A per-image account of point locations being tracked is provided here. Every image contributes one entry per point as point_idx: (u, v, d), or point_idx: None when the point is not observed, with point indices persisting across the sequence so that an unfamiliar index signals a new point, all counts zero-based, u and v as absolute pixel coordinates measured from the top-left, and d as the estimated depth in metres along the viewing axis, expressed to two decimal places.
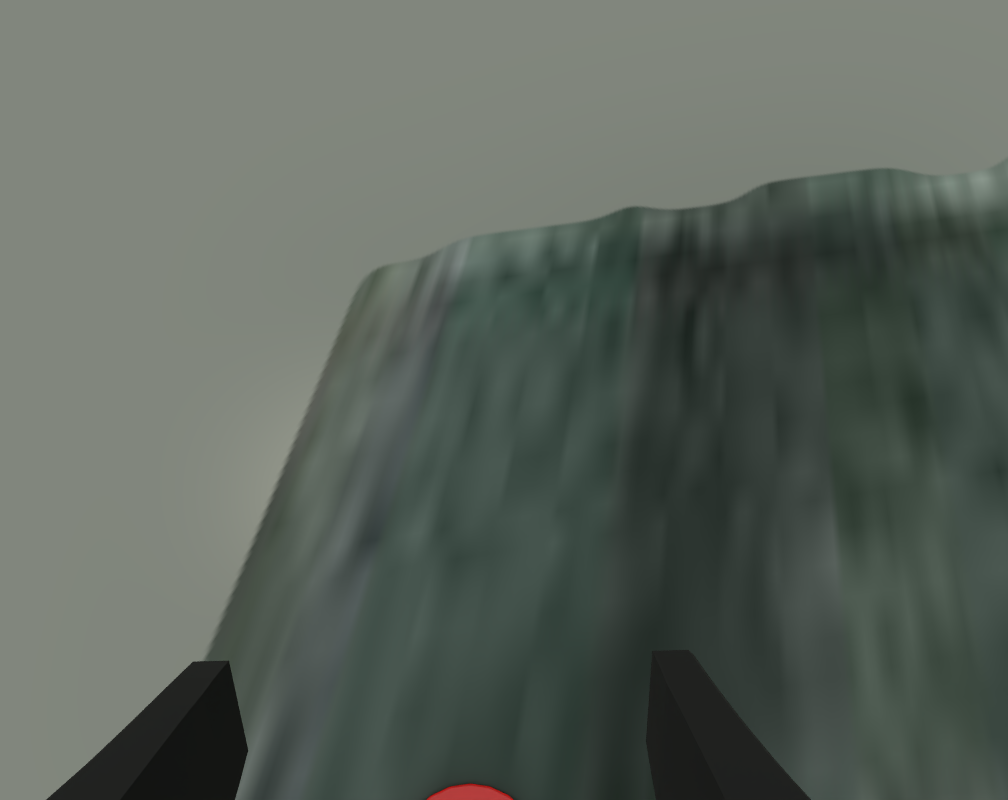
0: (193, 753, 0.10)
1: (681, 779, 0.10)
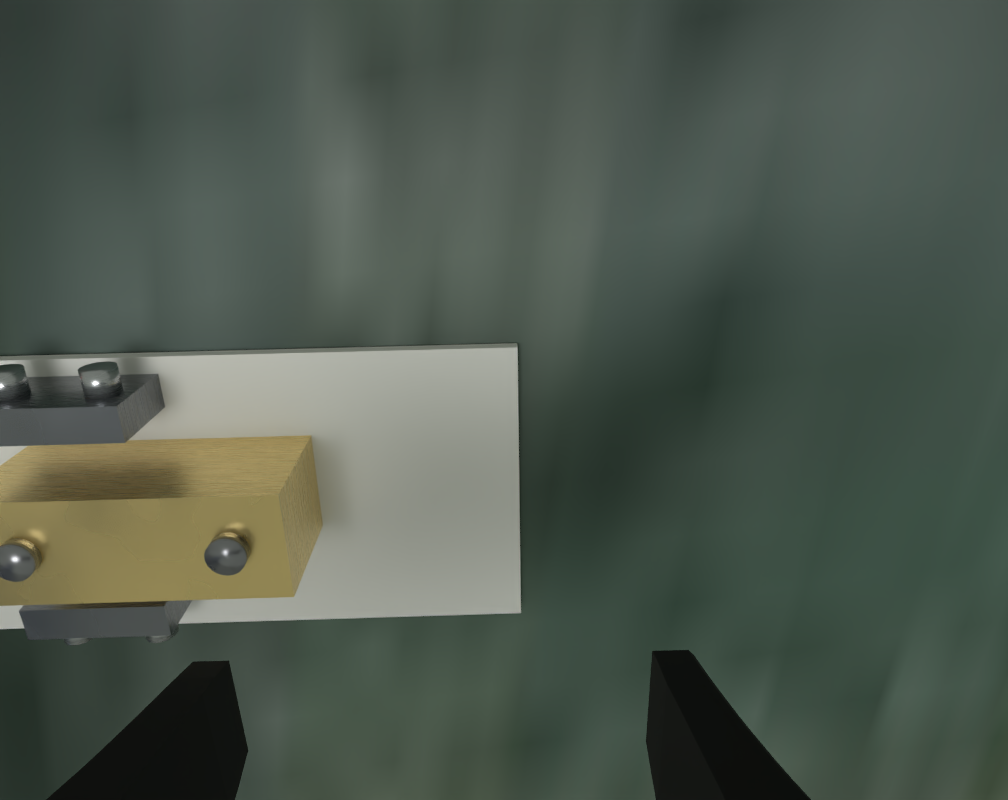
0: (193, 753, 0.10)
1: (681, 779, 0.10)
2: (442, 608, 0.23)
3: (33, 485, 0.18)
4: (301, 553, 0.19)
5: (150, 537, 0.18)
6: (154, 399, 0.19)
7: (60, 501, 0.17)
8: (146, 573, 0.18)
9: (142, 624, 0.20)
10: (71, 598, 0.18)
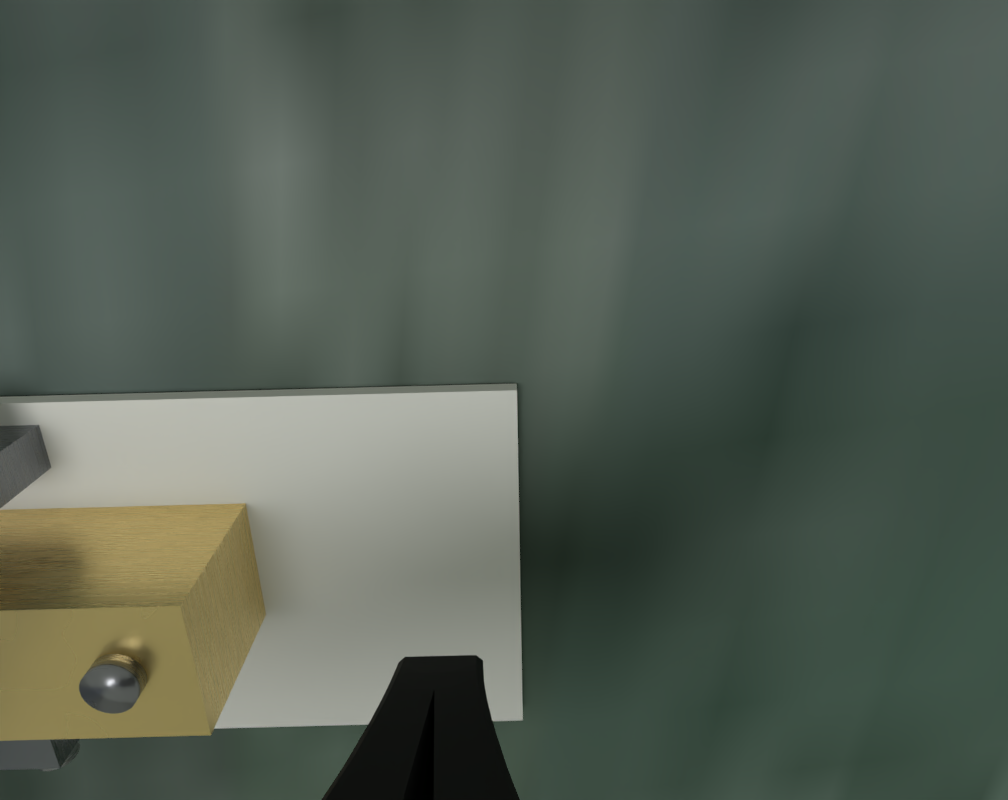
0: (430, 747, 0.10)
1: None
2: None
3: None
4: (225, 669, 0.14)
5: (7, 660, 0.13)
6: (31, 459, 0.15)
7: None
8: (7, 705, 0.13)
9: (21, 755, 0.15)
10: None
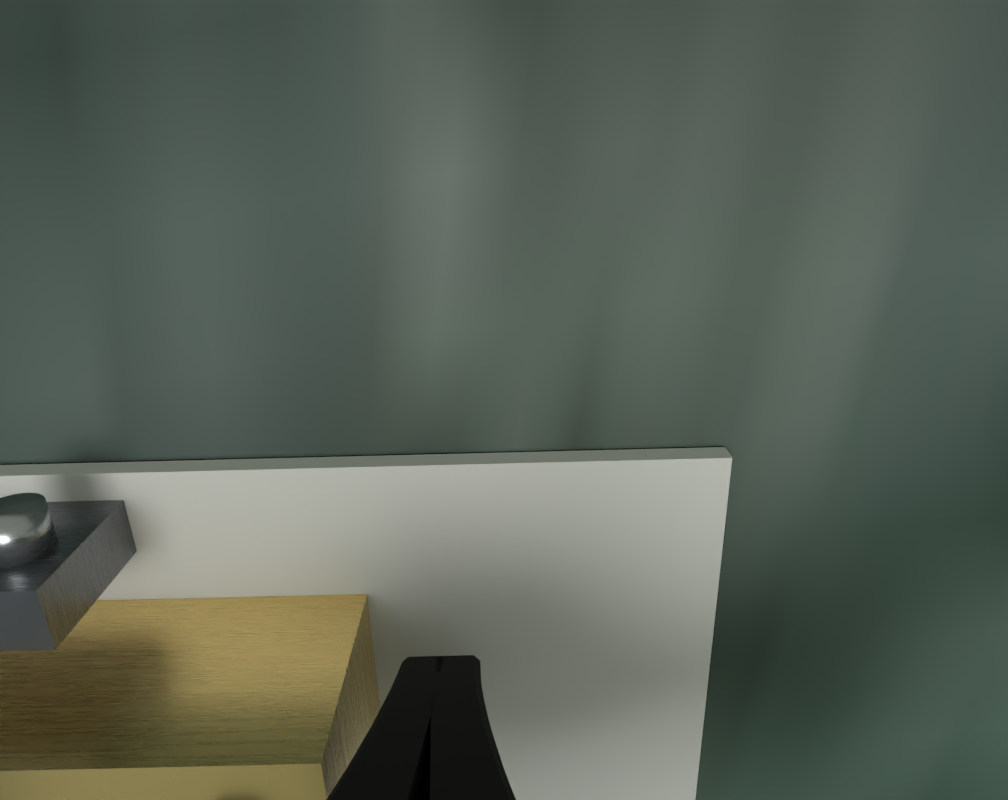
0: None
1: None
2: None
3: None
4: None
5: None
6: (116, 546, 0.11)
7: None
8: None
9: None
10: None
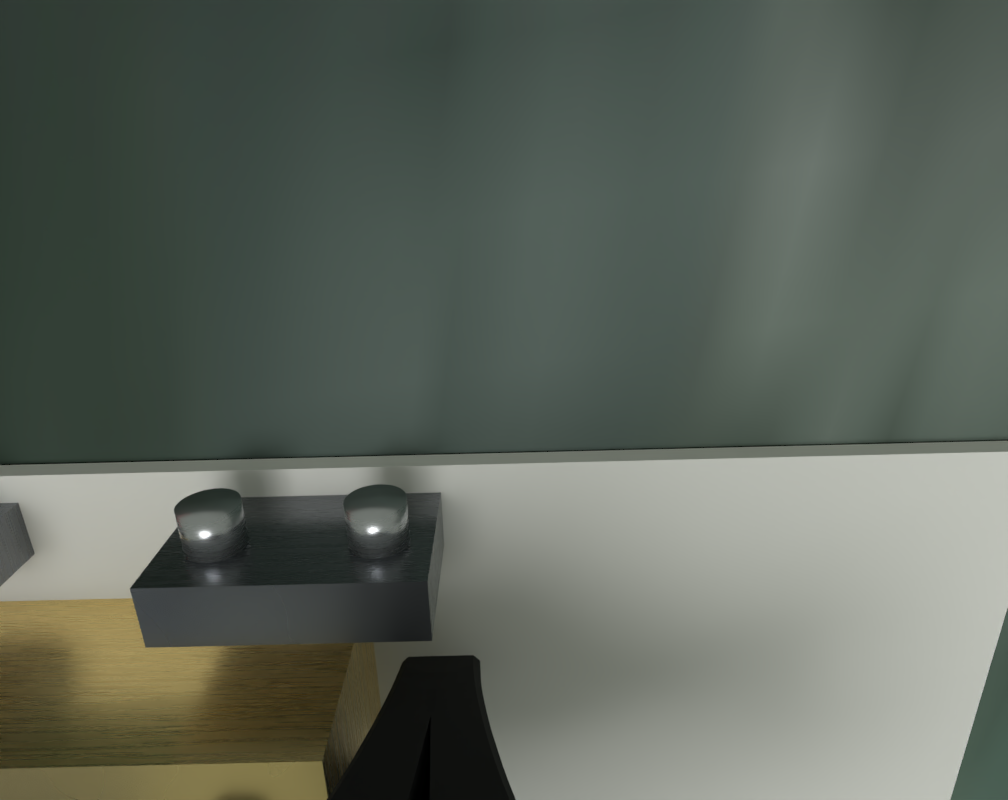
0: None
1: None
2: None
3: None
4: None
5: None
6: (440, 538, 0.12)
7: None
8: None
9: None
10: None
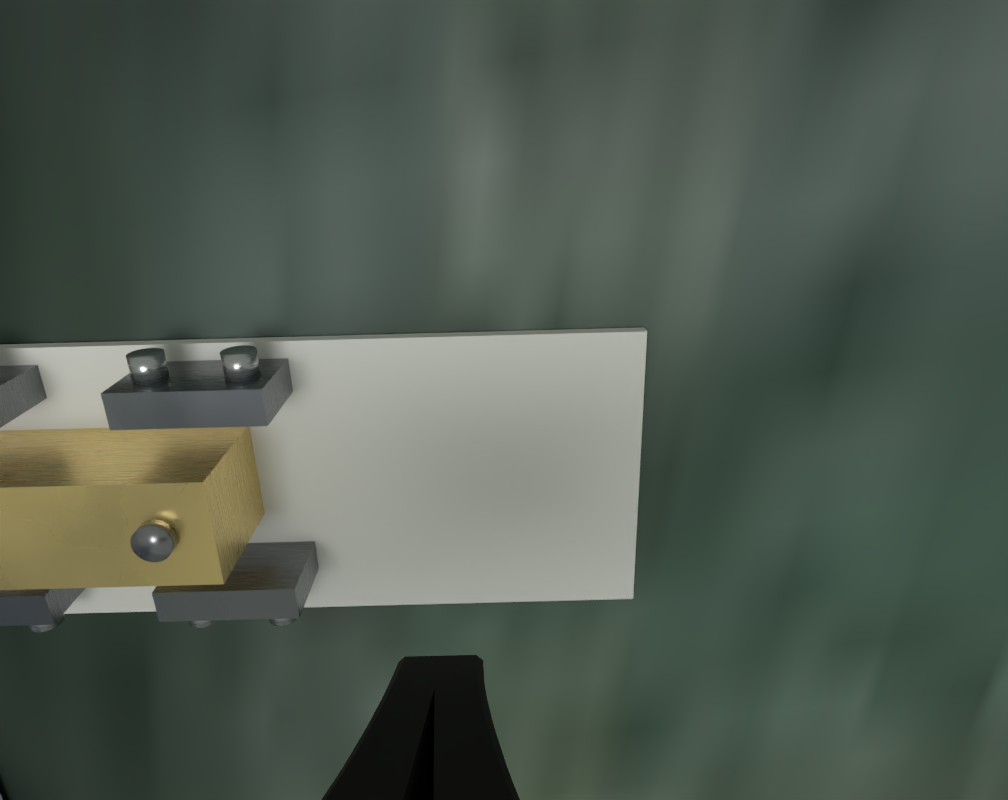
0: (430, 747, 0.10)
1: None
2: (555, 593, 0.23)
3: None
4: (234, 541, 0.19)
5: (78, 524, 0.18)
6: (286, 383, 0.20)
7: None
8: (76, 560, 0.18)
9: (272, 607, 0.20)
10: (4, 584, 0.18)
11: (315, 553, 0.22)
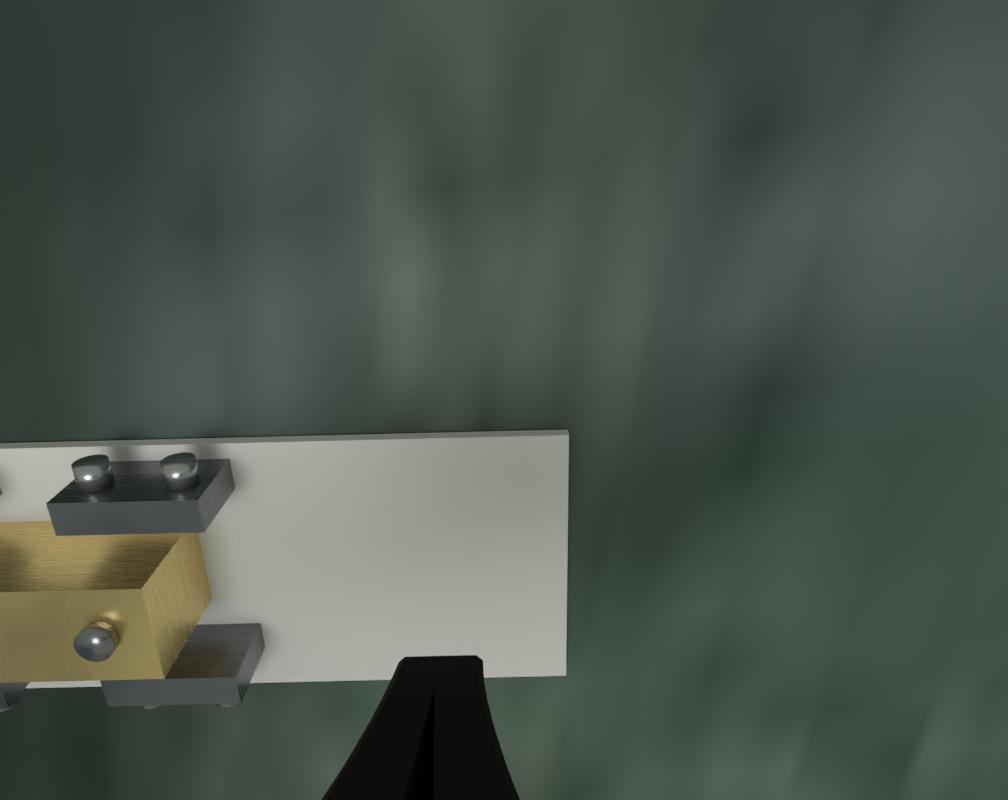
0: (430, 747, 0.10)
1: None
2: (491, 671, 0.24)
3: None
4: (176, 634, 0.20)
5: (24, 626, 0.19)
6: (226, 483, 0.21)
7: None
8: (24, 657, 0.19)
9: (214, 693, 0.21)
10: None
11: (261, 634, 0.23)
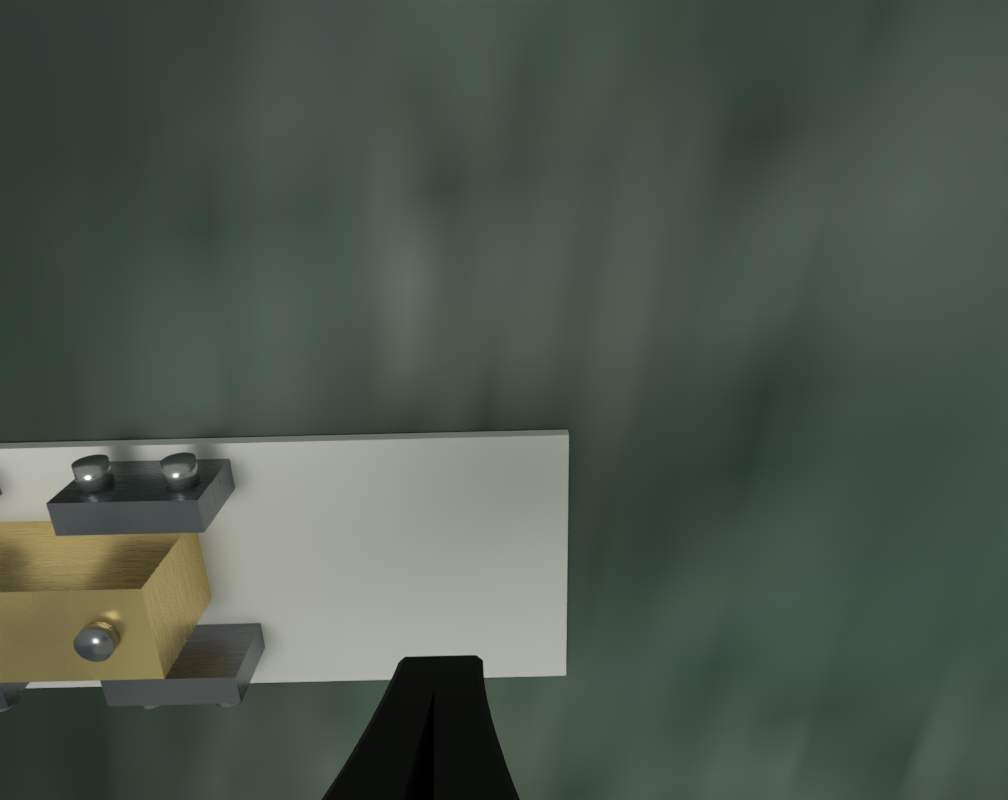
0: (430, 747, 0.10)
1: None
2: (491, 671, 0.24)
3: None
4: (176, 634, 0.20)
5: (24, 626, 0.19)
6: (226, 483, 0.21)
7: None
8: (24, 657, 0.19)
9: (214, 693, 0.21)
10: None
11: (261, 634, 0.23)
